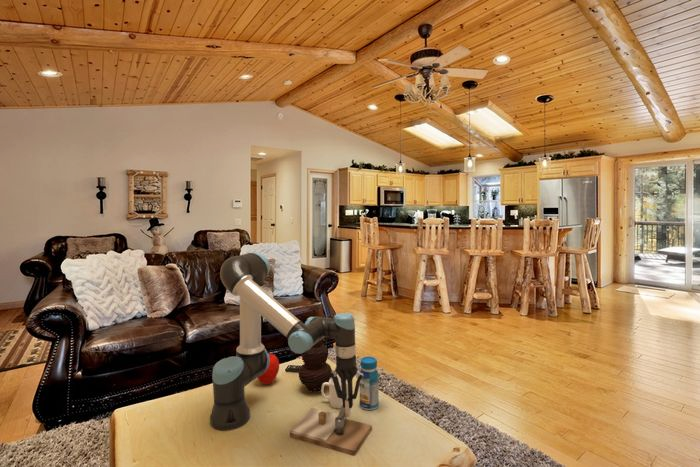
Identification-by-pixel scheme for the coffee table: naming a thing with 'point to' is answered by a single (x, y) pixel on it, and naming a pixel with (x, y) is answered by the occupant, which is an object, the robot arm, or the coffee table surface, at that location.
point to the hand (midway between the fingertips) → (348, 415)
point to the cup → (334, 393)
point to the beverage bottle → (369, 384)
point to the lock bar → (340, 422)
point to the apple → (270, 371)
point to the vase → (315, 367)
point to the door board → (330, 431)
